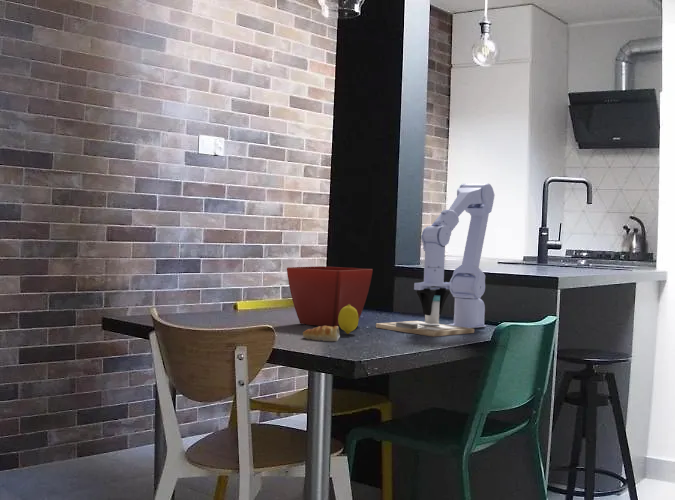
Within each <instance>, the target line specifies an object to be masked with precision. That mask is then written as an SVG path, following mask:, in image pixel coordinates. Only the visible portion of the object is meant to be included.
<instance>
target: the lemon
mask: <svg viewBox="0 0 675 500" xmlns="http://www.w3.org/2000/svg"><path fill="white" fill-rule="evenodd" d="M359 320H360V318H359V317H358V312H357V310H356V309H355V308H354V307H352V306H351V305H347V306H345V307H343V308H342V309H341V311H340V313H339V316H338V323H339V326H340V327H339V329H341V330H342V331H344V333H346V334H347V335H349V334H351V332H353V331H355V330H357V329H356V328H357V327H358V325H359Z"/></svg>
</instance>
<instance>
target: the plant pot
mask: <svg viewBox="0 0 675 500" xmlns="http://www.w3.org/2000/svg"><path fill="white" fill-rule="evenodd" d="M286 274H287V280H288V286H289V291H290V295H291V300H292V304H293V307H294V310H295V313H296V316H297V318H298V322H299V324H300V325H305V324H306V325H309V326H316V327H319V326H320V327H321V326H331V327H334V326H338V328H340V326H339V323H338V316H339V313H340V311H341V309H342V308H343V307H345V306H347V305H351V306H352V307H354V308H355V309H356V310H357V312H358V317H359V319H360V318H361V315H362V312H363V310H364V307H365V304H366V301H367V297H368V294H369V290H370V287H371V282H372V276H373V268H360V267H359V268H358V267H342V266H341V267H340V266H323V265H322V266H318V265H317V266H291V267H286Z"/></svg>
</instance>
